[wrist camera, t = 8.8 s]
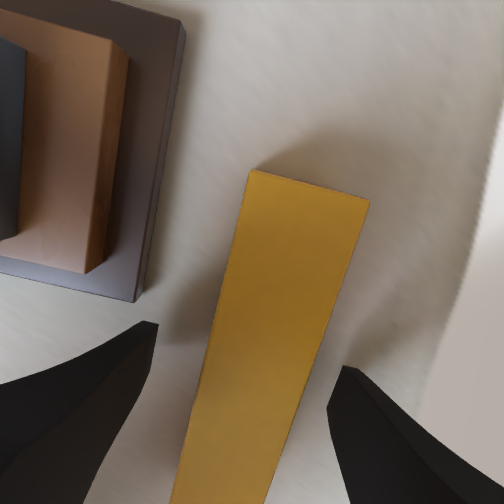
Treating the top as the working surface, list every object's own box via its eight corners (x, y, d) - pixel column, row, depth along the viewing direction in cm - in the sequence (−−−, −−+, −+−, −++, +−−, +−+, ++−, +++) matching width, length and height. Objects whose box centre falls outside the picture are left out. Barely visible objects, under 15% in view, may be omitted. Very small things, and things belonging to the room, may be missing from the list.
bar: (244, 486, 14) (242, 567, 11) (176, 473, 14) (157, 552, 11) (339, 191, 11) (372, 200, 8) (250, 168, 10) (249, 168, 8)
